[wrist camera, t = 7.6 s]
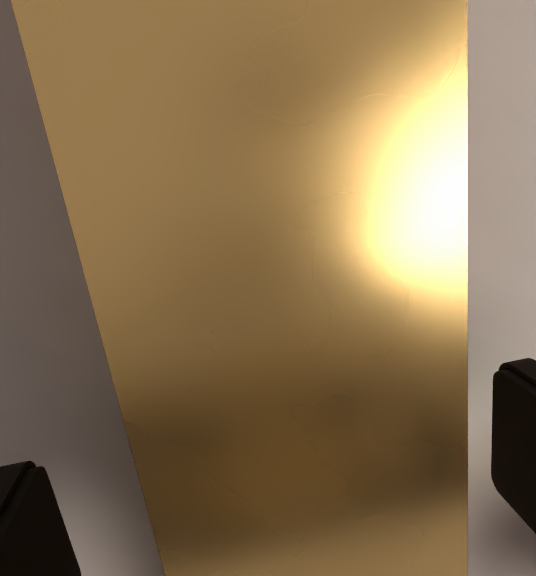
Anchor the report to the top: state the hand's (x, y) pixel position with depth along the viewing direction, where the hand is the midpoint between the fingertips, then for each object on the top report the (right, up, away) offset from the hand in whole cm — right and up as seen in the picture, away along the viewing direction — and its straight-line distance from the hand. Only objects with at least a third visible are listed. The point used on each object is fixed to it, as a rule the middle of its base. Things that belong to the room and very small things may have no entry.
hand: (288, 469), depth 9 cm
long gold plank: (-1, +4, 0) cm, 4 cm away
